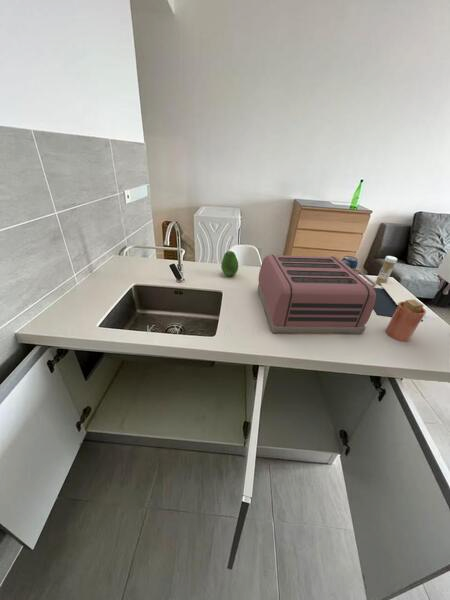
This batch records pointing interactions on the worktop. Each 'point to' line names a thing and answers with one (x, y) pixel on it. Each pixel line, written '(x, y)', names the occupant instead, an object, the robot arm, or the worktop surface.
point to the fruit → (229, 263)
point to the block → (412, 306)
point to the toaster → (314, 295)
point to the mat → (384, 303)
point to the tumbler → (404, 323)
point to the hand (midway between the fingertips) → (438, 305)
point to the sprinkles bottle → (386, 269)
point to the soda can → (350, 261)
